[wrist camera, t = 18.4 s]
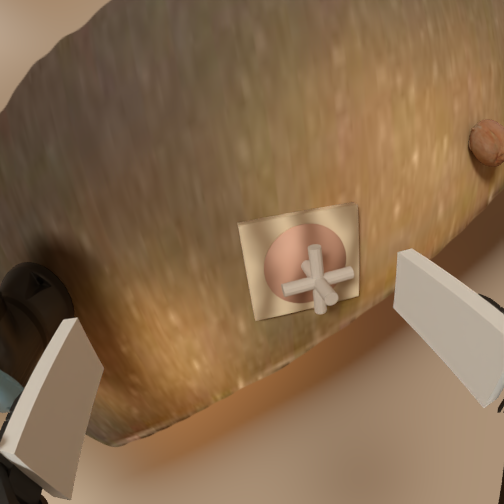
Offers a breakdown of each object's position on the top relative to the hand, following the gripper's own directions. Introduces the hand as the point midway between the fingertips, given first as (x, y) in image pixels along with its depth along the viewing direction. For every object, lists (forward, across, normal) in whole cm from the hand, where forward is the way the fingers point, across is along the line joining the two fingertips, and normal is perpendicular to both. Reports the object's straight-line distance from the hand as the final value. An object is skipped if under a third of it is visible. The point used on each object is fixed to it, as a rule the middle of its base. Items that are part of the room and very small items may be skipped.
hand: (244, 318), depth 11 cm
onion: (+32, +50, +3) cm, 59 cm away
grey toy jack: (+30, +11, -14) cm, 35 cm away
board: (+32, +11, -14) cm, 36 cm away
